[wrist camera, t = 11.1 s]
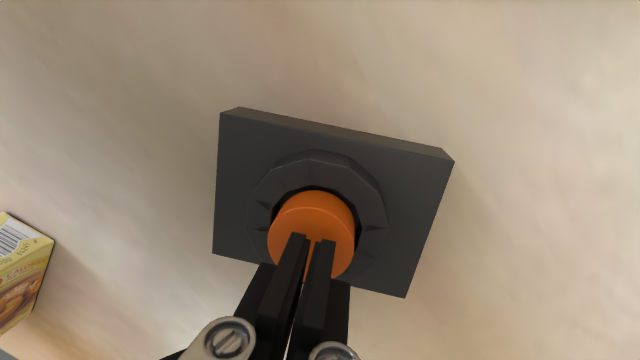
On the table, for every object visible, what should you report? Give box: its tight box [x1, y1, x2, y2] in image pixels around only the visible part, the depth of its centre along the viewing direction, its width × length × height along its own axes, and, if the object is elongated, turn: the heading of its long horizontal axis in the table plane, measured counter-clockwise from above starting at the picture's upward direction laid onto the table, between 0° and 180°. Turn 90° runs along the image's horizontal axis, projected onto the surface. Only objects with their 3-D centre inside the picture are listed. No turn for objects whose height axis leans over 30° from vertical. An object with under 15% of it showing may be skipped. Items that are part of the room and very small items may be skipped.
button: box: [267, 190, 355, 281], centre depth 13 cm, size 4×4×2 cm
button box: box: [212, 107, 455, 298], centre depth 16 cm, size 11×8×4 cm
